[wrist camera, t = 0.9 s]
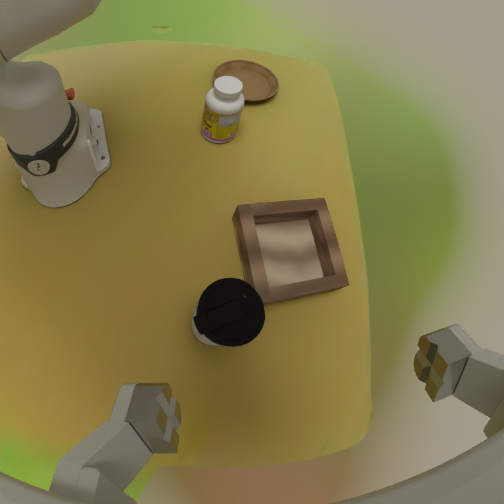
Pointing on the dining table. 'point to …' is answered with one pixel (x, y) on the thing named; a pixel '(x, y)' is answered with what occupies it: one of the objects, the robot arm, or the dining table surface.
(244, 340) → the travel mug
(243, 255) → the square wooden tray
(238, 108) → the supplement bottle
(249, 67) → the plant saucer
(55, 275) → the dining table surface
